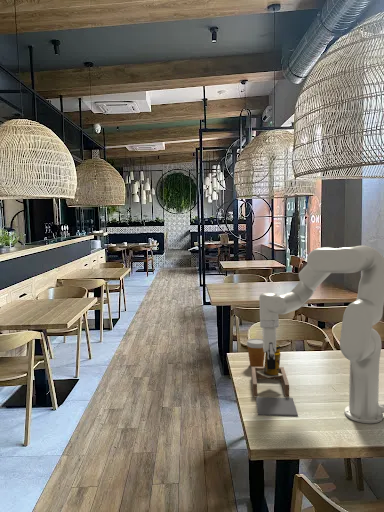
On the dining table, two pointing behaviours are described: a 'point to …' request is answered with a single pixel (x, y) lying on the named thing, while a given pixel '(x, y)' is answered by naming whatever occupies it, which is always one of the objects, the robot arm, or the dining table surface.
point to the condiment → (275, 371)
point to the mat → (276, 406)
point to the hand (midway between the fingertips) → (270, 365)
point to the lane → (258, 376)
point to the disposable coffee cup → (256, 352)
